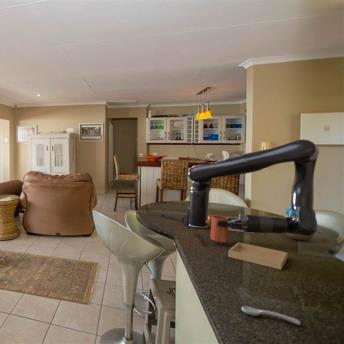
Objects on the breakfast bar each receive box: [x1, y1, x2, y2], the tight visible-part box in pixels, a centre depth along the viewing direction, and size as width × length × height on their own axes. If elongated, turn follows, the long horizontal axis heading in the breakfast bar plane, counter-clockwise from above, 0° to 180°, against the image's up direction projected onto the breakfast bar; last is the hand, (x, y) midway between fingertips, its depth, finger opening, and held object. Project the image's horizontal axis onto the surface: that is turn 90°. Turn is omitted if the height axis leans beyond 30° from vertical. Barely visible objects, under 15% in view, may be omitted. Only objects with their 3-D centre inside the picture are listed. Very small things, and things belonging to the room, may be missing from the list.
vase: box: [285, 205, 317, 241], centre depth 134 cm, size 11×11×19 cm
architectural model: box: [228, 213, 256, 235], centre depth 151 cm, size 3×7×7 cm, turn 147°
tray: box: [227, 242, 289, 271], centre depth 112 cm, size 16×14×3 cm
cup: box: [209, 215, 229, 243], centre depth 127 cm, size 6×6×10 cm
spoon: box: [241, 305, 302, 326], centre depth 73 cm, size 3×12×2 cm, turn 65°
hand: (214, 221), depth 127 cm, fingers closed on cup, 6 cm apart
